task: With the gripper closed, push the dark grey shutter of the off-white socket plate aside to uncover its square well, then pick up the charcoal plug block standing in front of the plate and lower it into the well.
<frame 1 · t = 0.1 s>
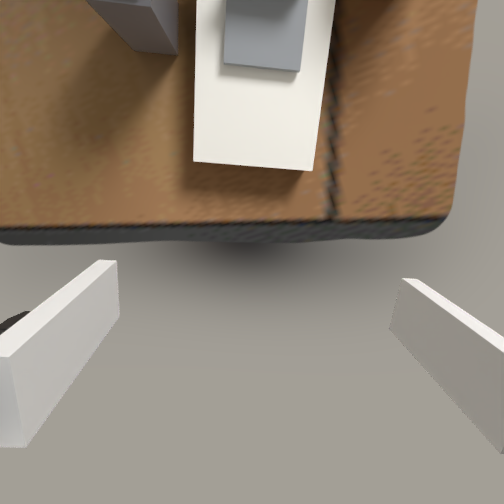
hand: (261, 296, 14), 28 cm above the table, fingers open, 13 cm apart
socket: (258, 78, 36), on the table
shutter: (267, 14, 29), point 6 cm above the table, slide at 0.0 cm
plug: (155, 27, 34), on the table
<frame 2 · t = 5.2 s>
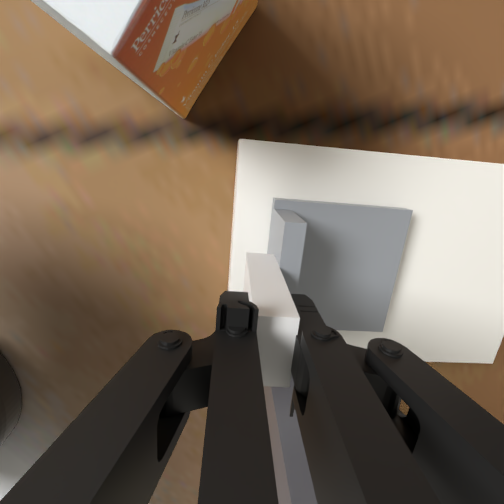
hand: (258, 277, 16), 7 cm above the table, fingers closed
socket: (360, 250, 23), on the table
small box: (179, 31, 18), on the table
shutter: (341, 280, 17), point 6 cm above the table, slide at 0.2 cm, touching gripper
plug: (290, 376, 26), on the table
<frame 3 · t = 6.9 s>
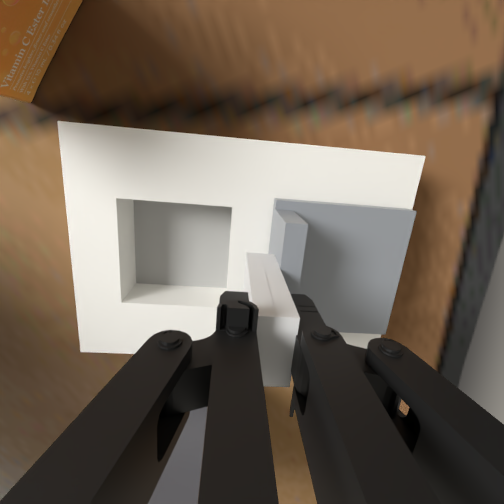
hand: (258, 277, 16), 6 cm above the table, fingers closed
socket: (239, 242, 22), on the table
small box: (14, 9, 17), on the table
shutter: (343, 282, 16), point 6 cm above the table, slide at 9.6 cm, touching gripper
plug: (182, 375, 25), on the table
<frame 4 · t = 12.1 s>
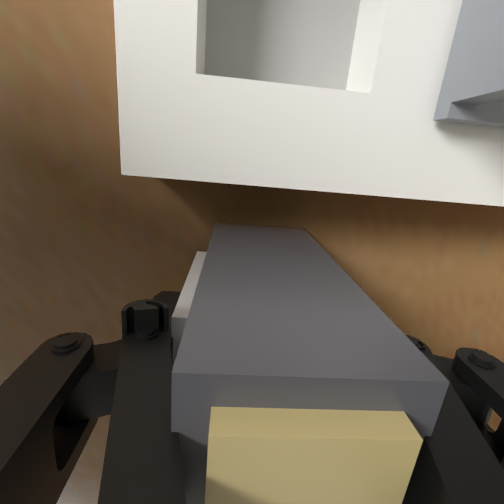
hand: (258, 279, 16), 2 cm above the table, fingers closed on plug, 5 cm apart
socket: (363, 34, 14), on the table
plug: (256, 267, 17), on the table, touching gripper
when the fingers open (5 cm above the table, at t = 17.3 s): plug drops 2 cm, resting on socket.
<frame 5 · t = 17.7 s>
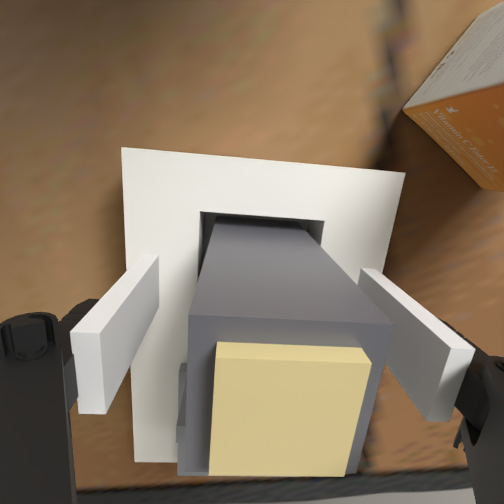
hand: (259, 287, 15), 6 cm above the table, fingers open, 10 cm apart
socket: (248, 305, 21), on the table
small box: (476, 110, 19), on the table
shutter: (244, 449, 17), point 6 cm above the table, slide at 9.7 cm
plug: (254, 257, 19), point 1 cm above the table, touching socket
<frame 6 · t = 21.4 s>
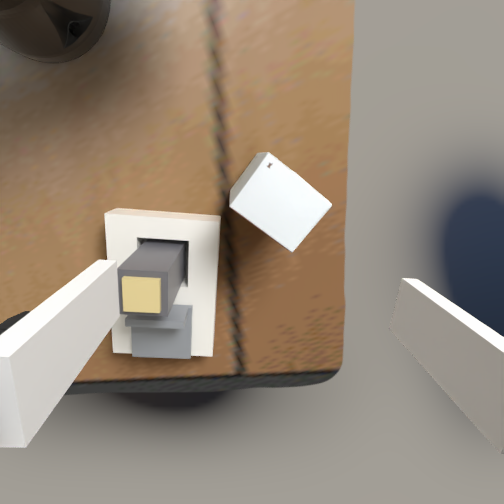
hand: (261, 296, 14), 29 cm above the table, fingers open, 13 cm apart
socket: (169, 279, 44), on the table
small box: (266, 189, 41), on the table
shutter: (159, 338, 40), point 6 cm above the table, slide at 9.7 cm
plug: (167, 255, 42), point 1 cm above the table, touching socket
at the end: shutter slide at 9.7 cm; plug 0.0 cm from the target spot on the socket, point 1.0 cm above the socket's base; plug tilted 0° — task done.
